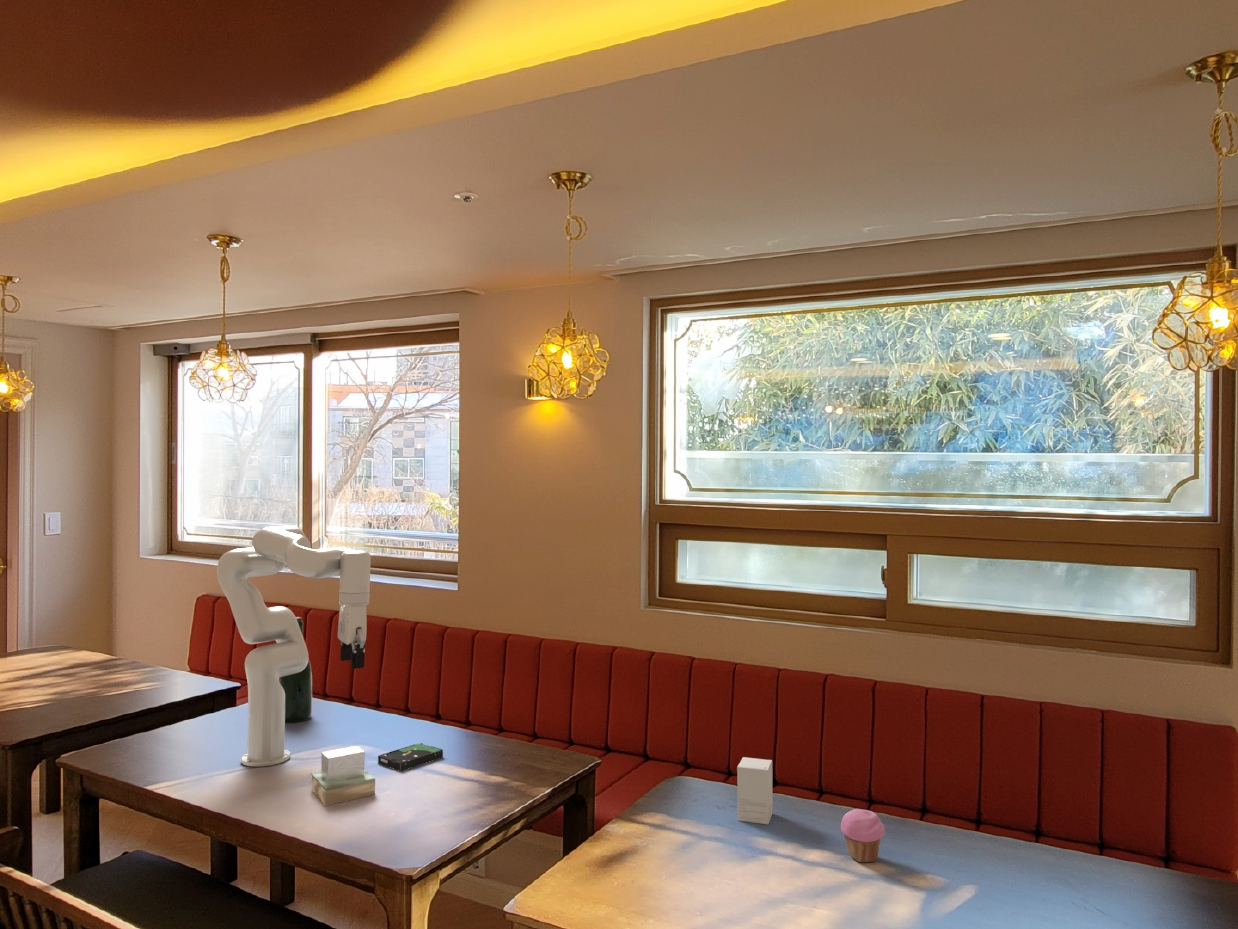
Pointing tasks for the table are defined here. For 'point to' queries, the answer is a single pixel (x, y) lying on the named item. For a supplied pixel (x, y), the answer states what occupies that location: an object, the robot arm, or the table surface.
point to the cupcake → (862, 834)
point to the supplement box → (755, 790)
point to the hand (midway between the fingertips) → (351, 664)
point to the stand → (343, 788)
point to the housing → (342, 764)
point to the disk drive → (410, 756)
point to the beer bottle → (298, 691)
